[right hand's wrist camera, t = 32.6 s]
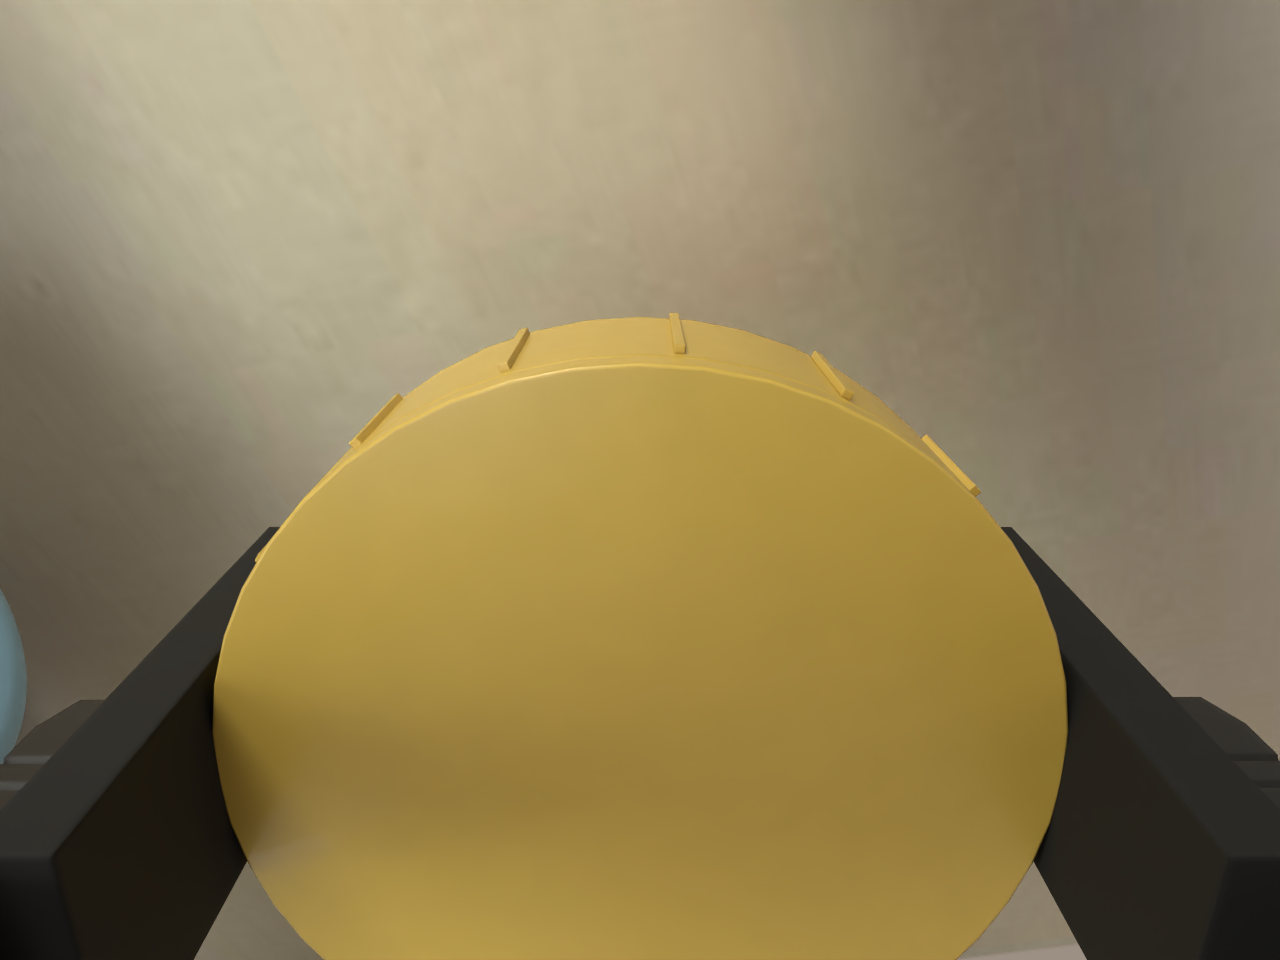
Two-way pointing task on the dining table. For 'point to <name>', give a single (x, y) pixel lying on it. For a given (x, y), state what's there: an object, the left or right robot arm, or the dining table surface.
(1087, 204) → the dining table surface
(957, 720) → the lid
